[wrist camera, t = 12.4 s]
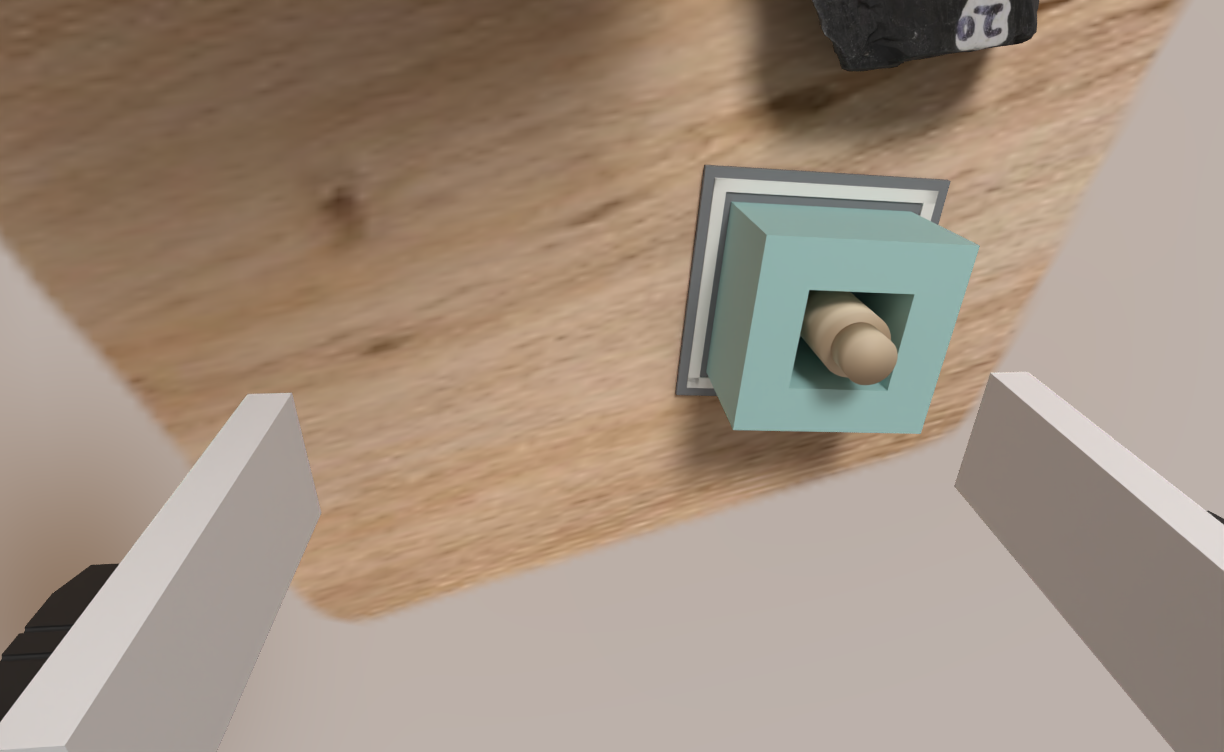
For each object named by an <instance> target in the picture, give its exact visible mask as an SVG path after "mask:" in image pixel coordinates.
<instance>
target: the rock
mask: <svg viewBox="0 0 1224 752" xmlns="http://www.w3.org/2000/svg"><path fill="white" fill-rule="evenodd" d="M812 2H813V4H814V6H815V8H816V10H817V14H818V17H819V21H820V25H821V28H822V30H823V32H824V34H825V36H827V37H828V38H829V39H830V40H831V41H832V44H833V48H834V52H835V53H836V54H837V56H838V58H839V61H840V65H841V67H842V69H845V70H847V71H868V70H874V69H882V68H893V67H897V66H898V65H900V64H901V63H904V62H906V61H911V60H917V59H924V58H930V57H935V56H940V55H945V54H951V53H958V52H971V51H977V50H982V49H986V48H992V47H999V46H1007V45H1013V44H1019V43H1023V42H1025V41H1027V40H1029V39H1031V38H1032V36H1033V35H1034V34H1035V33H1036V30H1037V10H1038V5H1039V0H812Z"/></svg>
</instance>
